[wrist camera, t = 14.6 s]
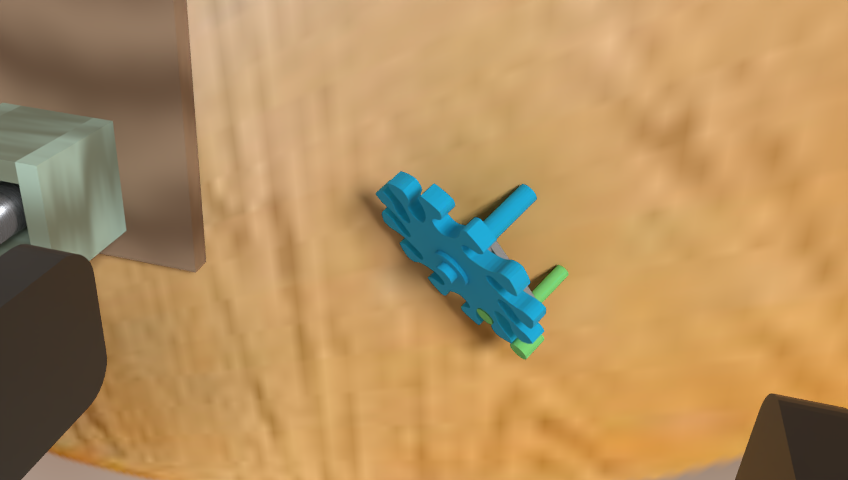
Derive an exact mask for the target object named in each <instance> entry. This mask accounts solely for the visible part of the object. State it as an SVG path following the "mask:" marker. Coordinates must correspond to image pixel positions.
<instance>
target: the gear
mask: <svg viewBox="0 0 848 480" xmlns="http://www.w3.org/2000/svg"><path fill="white" fill-rule="evenodd" d="M421 192H422V188H421V185H420V184H419V182H418V181H417V180H416V178H414V177H413V176H411V175H409V174H407V173H405V172H402V171H400V172H399V173H398V174H397V175H396V176H395V177H394V178H393V179H392V180H390V181H388V182H387V183H386V184H385V185H384V186H383V187H382V188H381V189H380V190H379V191H377V192H376V195H377V197H378V198H379V199H380V200H381V202H382V203H383V204H385V205H386V206H387V208H386V209H385V210H384V211H383V212H382V217H383V220H384V222H385V223H386V224H387V225H388V226H389V227H390V228H392V229H393V230H395V231H397V232H398V233H399V234H401V235H402V236H403V237H405V238H404V239H403V240H402V241H401V242H400V245H401V247H402V249H403V251H404V252H405V254H406V255H407V256H408V258H410V259H411V260H412V261H414V262H419V263H422V264H424V265H425V266H427V267H428V268H430V269H431V270H433V271H434V272H433V273H432V274H431V275H430V276H429V277H428V279H429V280H430V281H431V283H432V284H433V285H434V286H435V287H436V289H437V290H438V291H439V292H440V293H441V294H443V295H447V294H448V293H449V292H450V291H452V292H455V293H457V294H459V295H461V296H462V297H463V298H464V299H465V300H466V302H465V303H464V304H463V305H462V306H461V309H462V311H463V312H464V313H465V314H466V315H467V316H468V317H470V318H471V319H472V320H473V321H474V322H475V323H477V324H478V325H480V324H481V323H482V322H483V321H484V320H485V321H486V322H487V323H489V324H492V325H491V327H492V329H493V330H494V332H495V333H496V334H497V335H498V336H500V337H501V338H503V339H504V340H506V341H508V342H510V343H511V344H510V346H511V348H512V350H513V351H514V352H515V353H516V354H517V355H518V356H520V357H521V358H523V359H527V358H528V357H529V356H530V355H531V354H532V352H533V351H534V350H535V349H536V348H537V347H538V346H539V345H540V344H541V343H542V342H543V341H544V337H543V336H542V333H543V332H544V329H543V328H542V326H541V325H540V324H539V323H538V322H539V321H540V319H541V318H542V317H543V316H544V315H545V314H546V307H545V306H544V305H543V304H542V302H543V301H544V300H545V299H546V298H547V297H548V296H549V295H550V294H551V293H552V292H553V291H554V290H555V289H556V288H557V287H558V285H559V284H560V283H561V282H562V281H563V280H564V279H565V278H566V277H567V276H568V272H567V270H566V269H565V268H564V267H562V266H560V265H557V266H556V267H555V268H554V269H553V270H552V271H551V272H550V273H549V274H548V275H547V276H546V278H545V279H544V280H543V281H542V282H541V283H540V284H539V285H538V286H537V287H536V288H535V289H534V290H533V291H532V292H531V290H530V289H529V287H528V285H529V284H530V279H529V277H528V275H527V273H526V271H525V269H524V268H523V266H522V265H521V264H519V263H518V262H516V261H514V260H509V258H508V257H507V255H506V254H505V252H504V251H503V250H502V248H501V247H500V245H499V244H498V242H497V241H496V240H497V238H498V237H499V236H500V235H501V234H502V233H503V232H504V231H505V230H506V229H507V228H508V227H509V226H510V225H511V224H512V223H513V222H514V221H515V220H516V219H517V218H518V217H519V216H520V215H521V214H522V213H523V212H524V211H525V210H526V209H527V208H528V207H529V206H530V205H531V204H532V203H533V202H534V201H535V200H536V199H537V197H536V194H535V193H534V191H533V190H532V189H531V188H530V187H528V186H527V185H525V184H521V185H520V186H519V187H518V188H517V189H516V190H515V191H514V192H513V193H512V194H511V195H510V196H509V197H508V198H507V199H506V200H505V201H504V202H503V203H502V204H501V205H500V206H499V207H498V208H497V209H496V210H494V211H493V212H492V213H491V214H490V215H489V216H488V217H487V218H486V219H485V220H484V221H482V220H481V219H480V218H477V217H475V218H473V219H472V220H471V221H470V222H469V223H468V224H467V225H461V224H458V223H457V222H455V221H454V220H453V219H452V218H451V217H450V216H449V215H448V212H450V211H451V210H452V209H453V208H454V207H455V202H454V200H453V199H452V198H451V197H450V196H449V195H448V194H447V193H446V192H445V191H444V190H442V189H441V188H440V187H438V186H437V185H436V184H433V185H432V186H430V187H429V188H428V189H427V190H426V191H425V192H424V193H423V194H422V195H421Z"/></svg>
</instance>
